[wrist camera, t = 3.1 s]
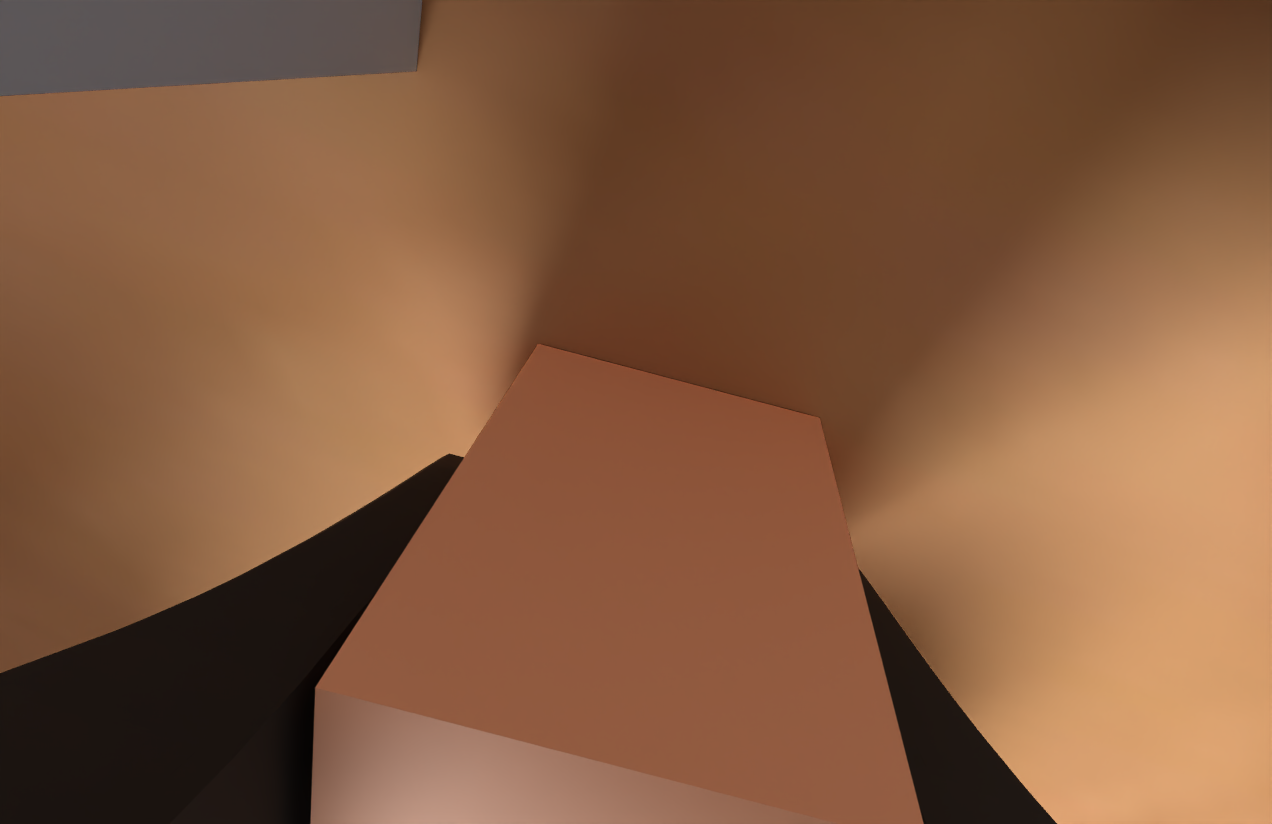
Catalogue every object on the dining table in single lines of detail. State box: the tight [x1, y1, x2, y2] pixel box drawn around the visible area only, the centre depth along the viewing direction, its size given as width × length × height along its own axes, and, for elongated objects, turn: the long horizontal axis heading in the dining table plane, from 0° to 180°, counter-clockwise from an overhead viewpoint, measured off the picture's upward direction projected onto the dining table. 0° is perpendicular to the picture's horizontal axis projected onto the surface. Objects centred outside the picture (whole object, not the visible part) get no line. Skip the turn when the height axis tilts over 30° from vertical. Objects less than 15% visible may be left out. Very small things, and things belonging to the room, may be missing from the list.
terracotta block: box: [311, 344, 924, 824], centre depth 8 cm, size 4×4×6 cm
